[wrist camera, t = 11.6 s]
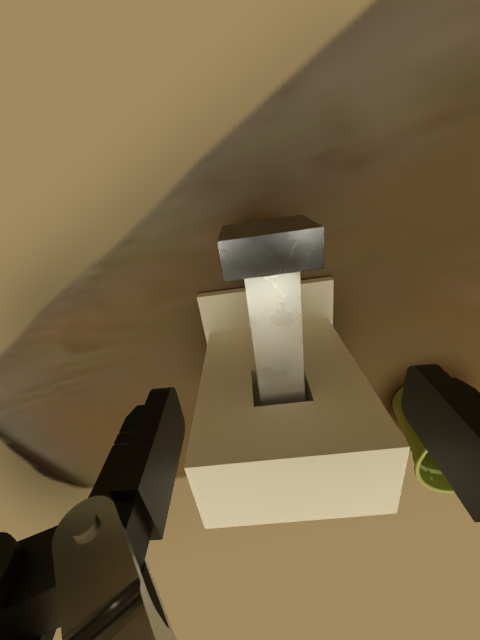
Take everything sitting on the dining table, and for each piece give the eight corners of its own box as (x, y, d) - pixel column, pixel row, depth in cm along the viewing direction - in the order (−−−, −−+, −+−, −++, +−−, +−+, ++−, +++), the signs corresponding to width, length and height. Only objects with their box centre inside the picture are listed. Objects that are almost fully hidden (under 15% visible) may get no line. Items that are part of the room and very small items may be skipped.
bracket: (198, 293, 28) (155, 415, 14) (330, 276, 27) (433, 386, 13) (221, 400, 34) (208, 560, 20) (329, 388, 33) (397, 546, 19)
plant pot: (361, 413, 35) (396, 479, 27) (410, 355, 31) (466, 414, 24) (420, 434, 37) (469, 502, 29) (474, 382, 33) (546, 444, 25)
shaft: (222, 225, 18) (217, 241, 13) (302, 214, 17) (323, 226, 13) (260, 470, 28) (265, 524, 24) (310, 465, 28) (324, 519, 24)
